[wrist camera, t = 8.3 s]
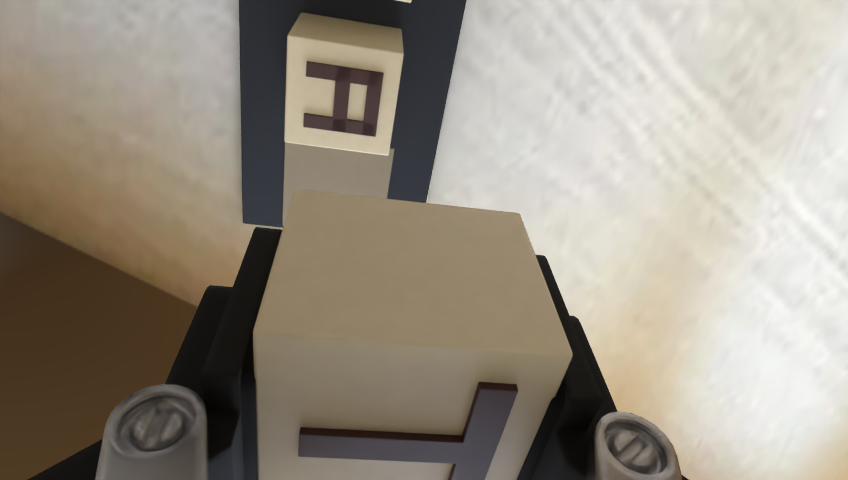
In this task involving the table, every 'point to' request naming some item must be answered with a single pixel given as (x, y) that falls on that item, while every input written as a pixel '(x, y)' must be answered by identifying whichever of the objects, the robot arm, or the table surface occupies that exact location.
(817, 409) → the table surface
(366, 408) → the tile
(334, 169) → the word mat
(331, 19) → the tile
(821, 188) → the table surface
